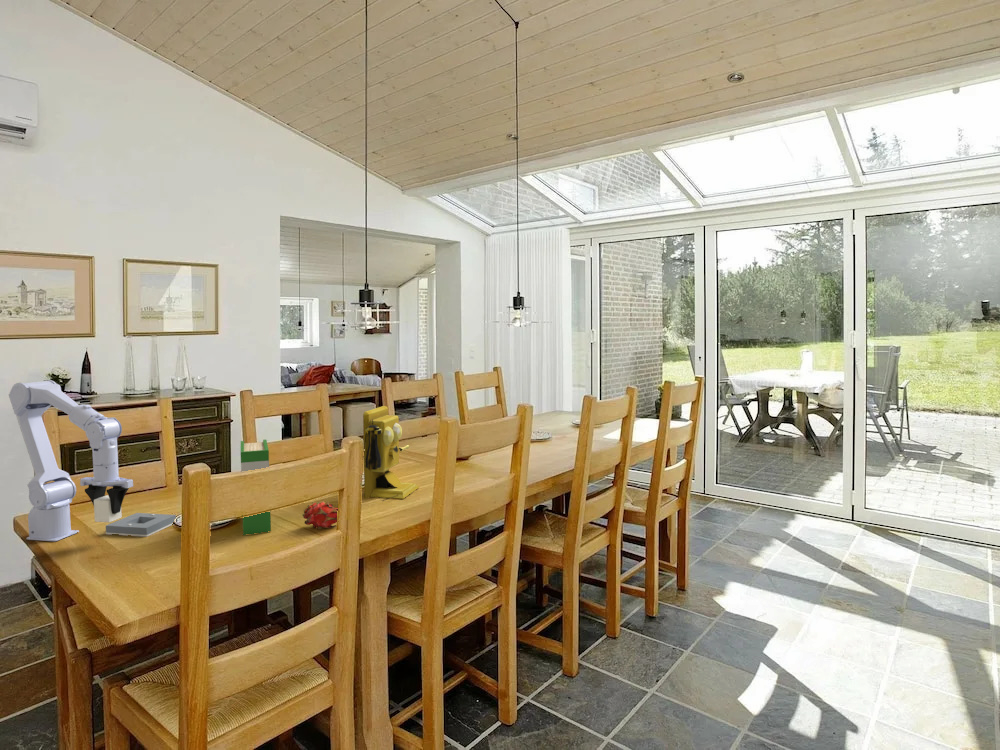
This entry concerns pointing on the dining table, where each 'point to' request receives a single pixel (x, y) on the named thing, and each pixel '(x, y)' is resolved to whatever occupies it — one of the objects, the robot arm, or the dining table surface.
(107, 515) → the block
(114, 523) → the outlet box
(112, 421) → the robot arm
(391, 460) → the vintage telephone
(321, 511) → the dragon fruit
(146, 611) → the dining table surface
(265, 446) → the hardback book
